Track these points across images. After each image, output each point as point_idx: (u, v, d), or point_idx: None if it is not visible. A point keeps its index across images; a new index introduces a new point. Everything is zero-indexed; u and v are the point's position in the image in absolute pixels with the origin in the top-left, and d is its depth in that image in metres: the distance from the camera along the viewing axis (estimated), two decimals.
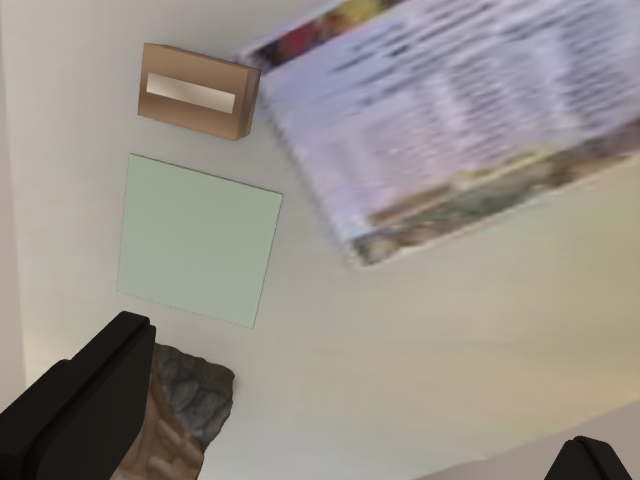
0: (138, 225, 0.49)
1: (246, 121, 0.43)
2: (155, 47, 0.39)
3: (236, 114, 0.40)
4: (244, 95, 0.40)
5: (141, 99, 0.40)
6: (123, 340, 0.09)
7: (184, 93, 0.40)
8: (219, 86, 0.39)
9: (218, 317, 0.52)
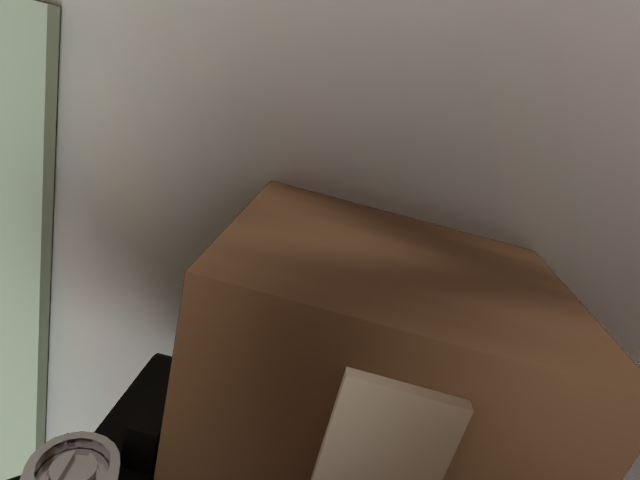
0: None
1: None
2: (621, 462, 0.06)
3: None
4: None
5: (292, 317, 0.06)
6: None
7: None
8: None
9: None
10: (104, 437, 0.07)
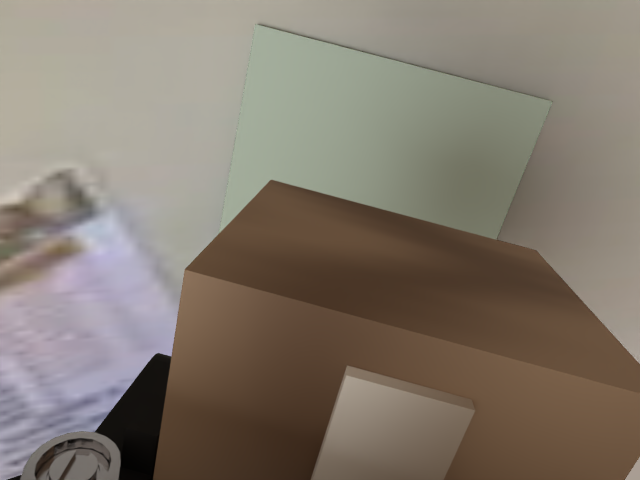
0: None
1: None
2: (624, 461, 0.06)
3: None
4: None
5: (292, 315, 0.06)
6: None
7: None
8: None
9: (328, 48, 0.24)
10: (105, 437, 0.07)
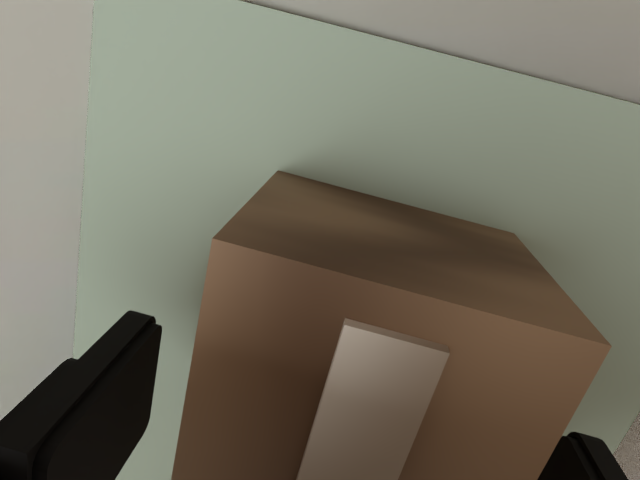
0: None
1: None
2: (573, 397, 0.07)
3: None
4: None
5: (299, 276, 0.07)
6: (130, 339, 0.09)
7: None
8: None
9: (269, 20, 0.10)
10: None
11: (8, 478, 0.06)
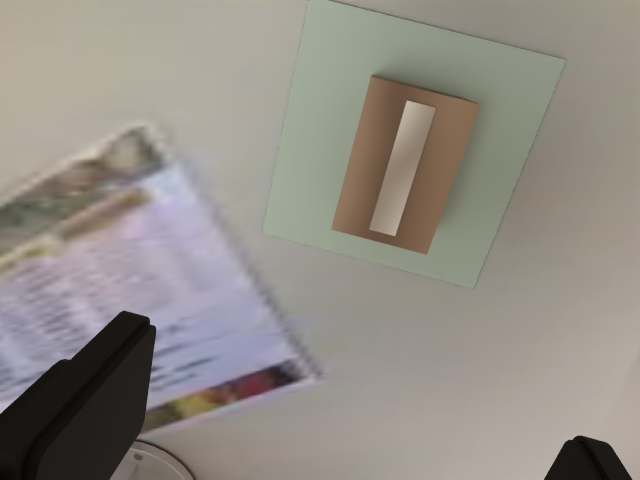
0: (486, 187, 0.31)
1: None
2: (471, 122, 0.25)
3: (367, 233, 0.28)
4: (393, 244, 0.28)
5: (394, 87, 0.25)
6: (123, 340, 0.09)
7: (401, 162, 0.26)
8: (407, 213, 0.27)
9: (372, 15, 0.28)
10: None
11: None
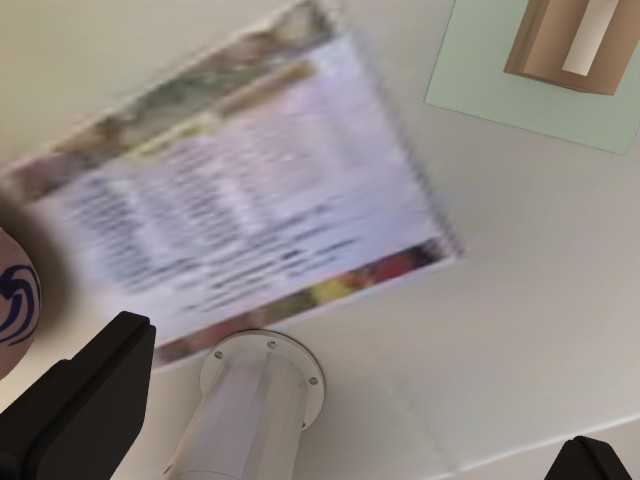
0: None
1: (531, 77, 0.32)
2: None
3: (558, 74, 0.30)
4: (580, 87, 0.30)
5: None
6: (123, 340, 0.09)
7: None
8: (600, 52, 0.29)
9: None
10: None
11: None
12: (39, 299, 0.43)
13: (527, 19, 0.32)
